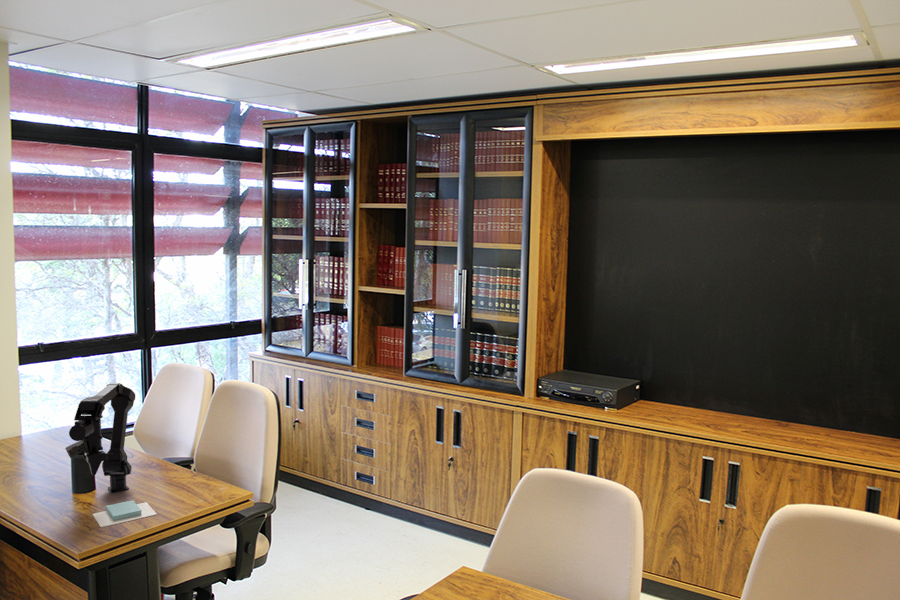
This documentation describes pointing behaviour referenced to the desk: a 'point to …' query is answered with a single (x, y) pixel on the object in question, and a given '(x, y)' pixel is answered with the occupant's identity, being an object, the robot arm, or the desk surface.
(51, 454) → the desk surface
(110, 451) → the robot arm
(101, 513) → the mat
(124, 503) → the tile
